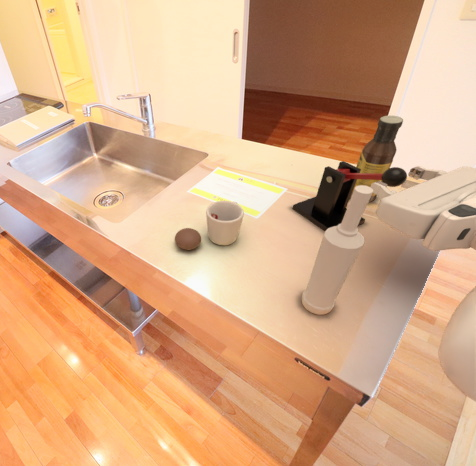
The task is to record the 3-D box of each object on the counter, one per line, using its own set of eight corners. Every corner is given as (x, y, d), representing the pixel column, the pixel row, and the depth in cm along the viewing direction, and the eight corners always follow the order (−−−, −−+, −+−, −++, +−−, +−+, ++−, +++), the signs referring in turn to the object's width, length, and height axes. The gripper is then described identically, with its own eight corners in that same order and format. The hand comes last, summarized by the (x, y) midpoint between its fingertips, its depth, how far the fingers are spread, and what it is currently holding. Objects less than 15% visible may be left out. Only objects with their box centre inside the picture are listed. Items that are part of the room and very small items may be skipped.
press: (363, 223, 72) (385, 174, 64) (332, 236, 71) (350, 187, 63) (321, 197, 81) (335, 151, 73) (292, 208, 80) (303, 162, 71)
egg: (169, 244, 76) (169, 231, 73) (188, 233, 78) (188, 220, 75) (187, 257, 72) (187, 244, 69) (206, 245, 74) (207, 232, 71)
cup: (218, 217, 81) (220, 190, 76) (249, 226, 77) (253, 198, 72) (199, 242, 75) (200, 215, 70) (232, 253, 71) (235, 226, 65)
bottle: (295, 295, 60) (333, 182, 44) (321, 290, 60) (369, 176, 44) (310, 318, 56) (357, 203, 40) (338, 313, 56) (398, 196, 40)
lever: (412, 184, 58) (411, 164, 57) (397, 190, 57) (396, 170, 56) (341, 180, 71) (340, 165, 70) (328, 185, 70) (327, 169, 70)
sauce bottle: (355, 186, 83) (386, 110, 70) (381, 196, 79) (418, 117, 66) (340, 195, 81) (368, 118, 68) (365, 206, 77) (400, 126, 64)
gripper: (542, 179, 48) (442, 146, 59) (444, 222, 44) (356, 178, 55) (515, 212, 52) (426, 176, 63) (423, 254, 48) (344, 208, 59)
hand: (393, 177), depth 59 cm, fingers open, 8 cm apart
